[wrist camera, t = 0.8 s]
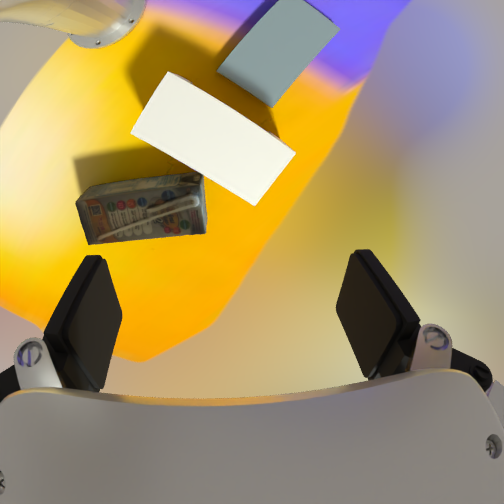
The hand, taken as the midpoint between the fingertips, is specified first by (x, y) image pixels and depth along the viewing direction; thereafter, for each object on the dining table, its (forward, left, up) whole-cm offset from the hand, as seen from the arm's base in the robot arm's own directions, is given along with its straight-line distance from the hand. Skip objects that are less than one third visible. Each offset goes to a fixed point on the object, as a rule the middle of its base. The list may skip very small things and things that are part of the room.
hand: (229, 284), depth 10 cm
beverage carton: (-5, -14, -32) cm, 36 cm away
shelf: (-2, 0, -32) cm, 32 cm away
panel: (-2, +15, -33) cm, 36 cm away
